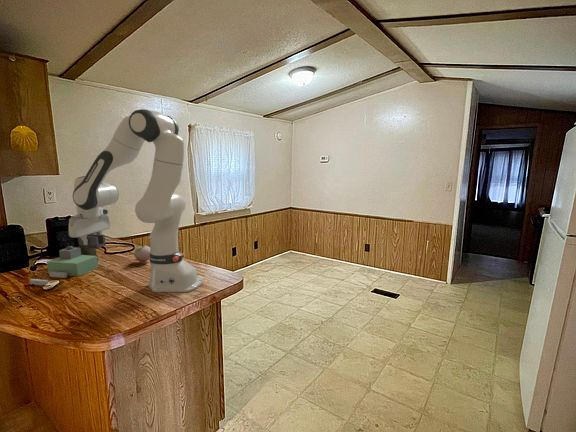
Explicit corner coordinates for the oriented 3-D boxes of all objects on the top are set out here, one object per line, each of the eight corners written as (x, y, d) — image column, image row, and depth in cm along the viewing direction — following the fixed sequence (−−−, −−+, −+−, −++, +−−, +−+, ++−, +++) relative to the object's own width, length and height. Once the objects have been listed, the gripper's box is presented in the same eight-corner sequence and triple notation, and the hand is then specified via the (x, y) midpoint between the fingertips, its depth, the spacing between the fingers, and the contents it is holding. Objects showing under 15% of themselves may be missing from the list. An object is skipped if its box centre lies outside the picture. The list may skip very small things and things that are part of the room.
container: (100, 261, 164) (97, 228, 161) (81, 265, 157) (77, 230, 154) (94, 258, 170) (91, 225, 166) (75, 262, 163) (71, 228, 160)
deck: (98, 267, 155) (96, 245, 153) (54, 286, 131) (51, 260, 129) (70, 265, 157) (67, 243, 155) (22, 283, 134) (18, 258, 132)
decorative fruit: (149, 265, 159) (148, 246, 158) (132, 265, 158) (131, 246, 156) (155, 259, 168) (153, 241, 167) (139, 259, 167) (137, 241, 166)
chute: (88, 244, 144) (87, 234, 144) (105, 245, 143) (104, 234, 142) (79, 247, 139) (78, 236, 139) (97, 248, 138) (96, 237, 137)
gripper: (75, 216, 128) (79, 249, 130) (111, 209, 148) (114, 237, 150) (62, 216, 129) (66, 248, 131) (99, 209, 149) (102, 237, 151)
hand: (92, 242), depth 141 cm, fingers closed on chute, 5 cm apart
